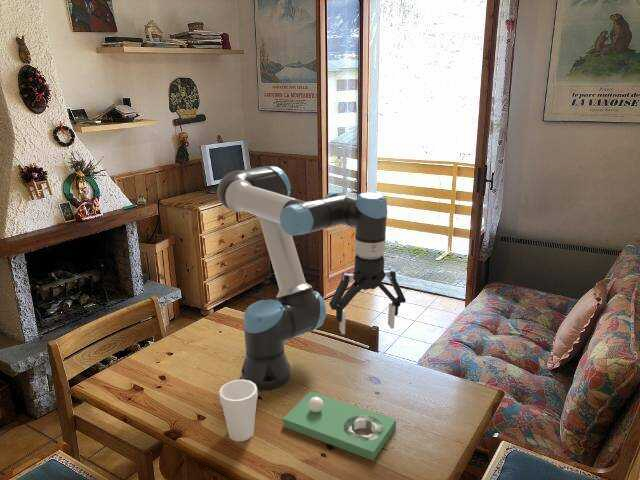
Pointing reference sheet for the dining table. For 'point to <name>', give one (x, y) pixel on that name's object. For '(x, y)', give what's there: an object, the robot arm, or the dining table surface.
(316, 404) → the ball
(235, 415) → the foam cup
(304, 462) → the dining table surface
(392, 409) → the dining table surface
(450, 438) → the dining table surface
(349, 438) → the green
